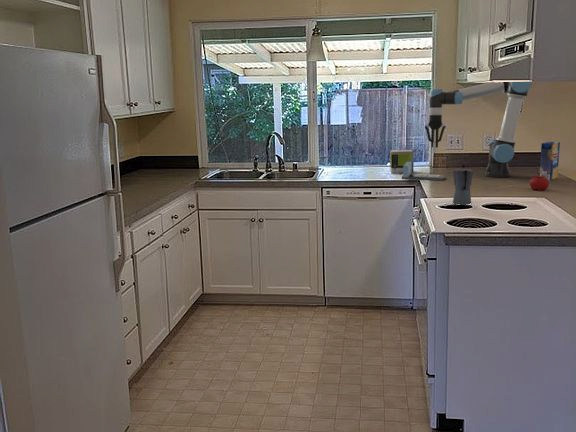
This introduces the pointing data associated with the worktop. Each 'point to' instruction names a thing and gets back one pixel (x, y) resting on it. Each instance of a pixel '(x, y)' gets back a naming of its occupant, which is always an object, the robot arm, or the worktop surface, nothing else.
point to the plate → (425, 177)
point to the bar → (407, 168)
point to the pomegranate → (539, 182)
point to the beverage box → (549, 160)
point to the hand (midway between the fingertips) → (434, 152)
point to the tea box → (400, 160)
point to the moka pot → (462, 185)
